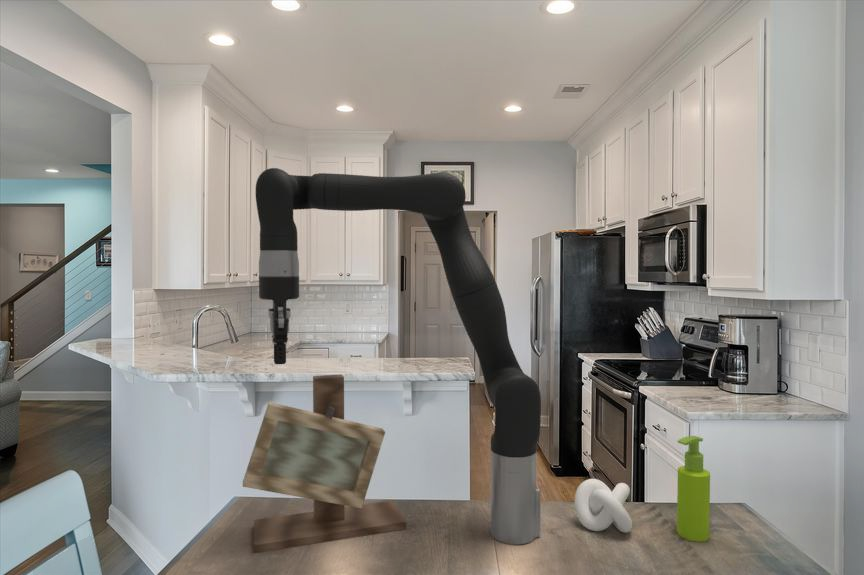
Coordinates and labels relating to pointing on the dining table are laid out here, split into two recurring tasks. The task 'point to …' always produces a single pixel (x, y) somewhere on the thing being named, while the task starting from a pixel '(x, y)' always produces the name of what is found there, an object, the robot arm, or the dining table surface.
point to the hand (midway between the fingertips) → (279, 363)
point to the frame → (313, 456)
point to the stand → (326, 516)
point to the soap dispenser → (693, 494)
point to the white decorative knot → (602, 506)
